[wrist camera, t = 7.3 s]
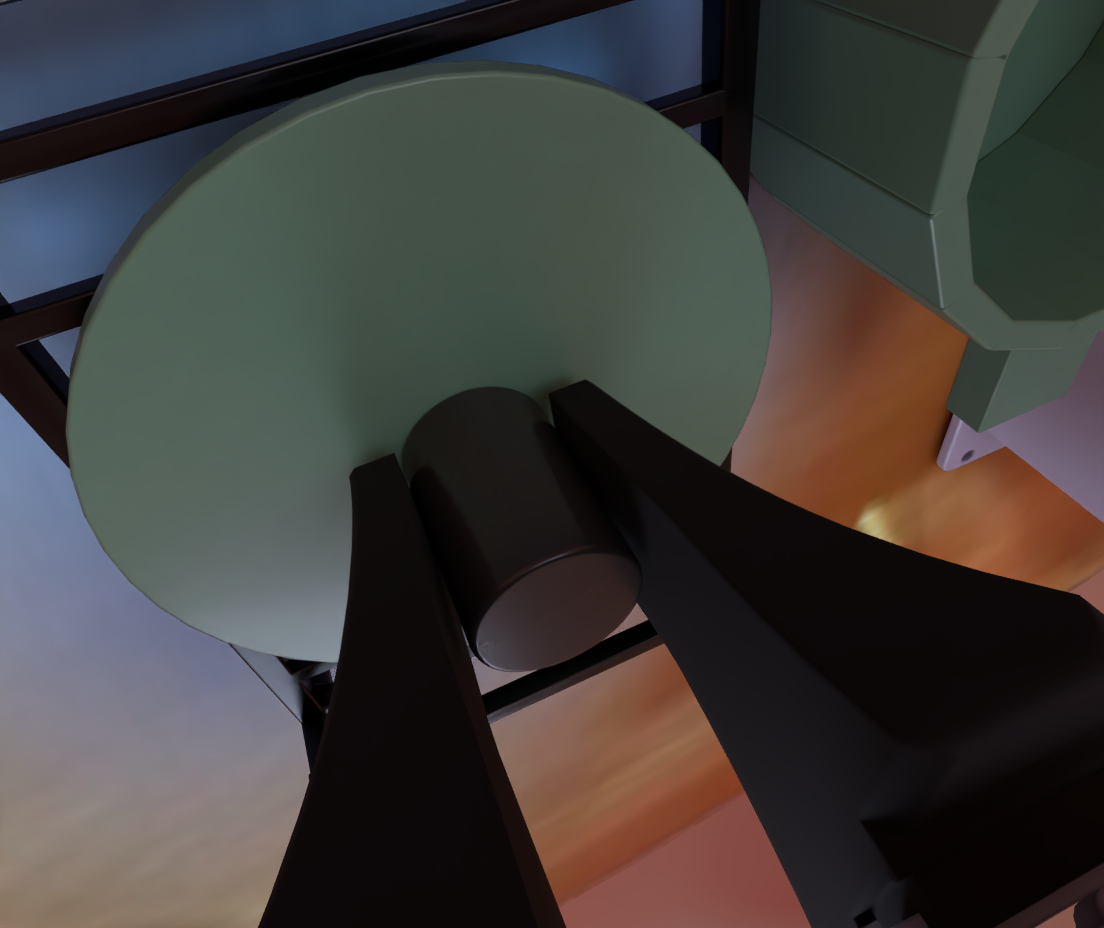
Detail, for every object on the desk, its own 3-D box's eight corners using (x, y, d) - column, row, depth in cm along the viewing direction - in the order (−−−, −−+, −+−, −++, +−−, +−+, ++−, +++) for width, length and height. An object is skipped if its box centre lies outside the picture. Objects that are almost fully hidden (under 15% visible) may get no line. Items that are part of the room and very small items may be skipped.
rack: (660, -281, 10) (896, -296, 7) (674, 476, 21) (766, 598, 18) (-270, -80, 8) (-511, 24, 5) (289, 637, 19) (320, 804, 16)
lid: (757, -58, 9) (1055, 33, 6) (725, 493, 17) (851, 649, 14) (-166, 205, 7) (-360, 508, 4) (271, 687, 15) (307, 915, 12)
